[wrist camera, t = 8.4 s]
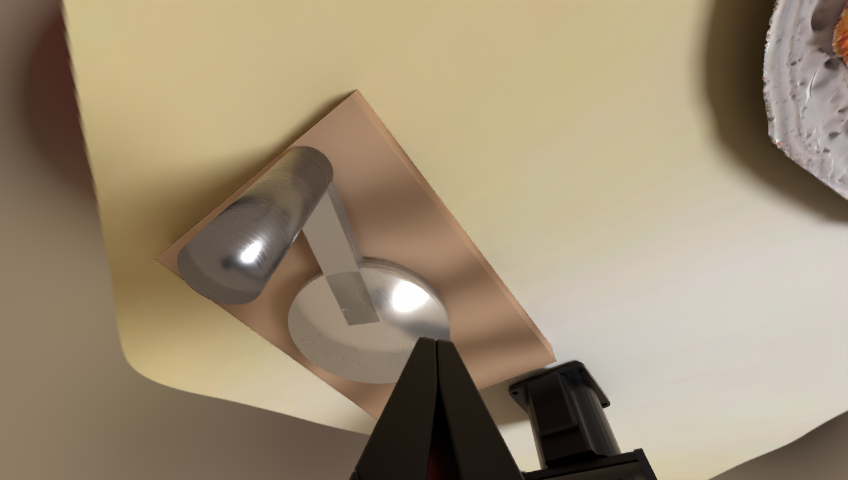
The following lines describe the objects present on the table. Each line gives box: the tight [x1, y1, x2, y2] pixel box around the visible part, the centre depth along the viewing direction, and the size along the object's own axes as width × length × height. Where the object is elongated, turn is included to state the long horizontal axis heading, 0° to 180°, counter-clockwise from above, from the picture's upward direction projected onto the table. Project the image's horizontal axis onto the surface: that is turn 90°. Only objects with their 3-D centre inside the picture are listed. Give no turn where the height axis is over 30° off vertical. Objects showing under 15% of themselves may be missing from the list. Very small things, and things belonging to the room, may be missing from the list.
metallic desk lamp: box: [177, 146, 450, 384], centre depth 17 cm, size 17×10×8 cm, turn 12°
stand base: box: [155, 89, 556, 420], centre depth 23 cm, size 22×16×2 cm
